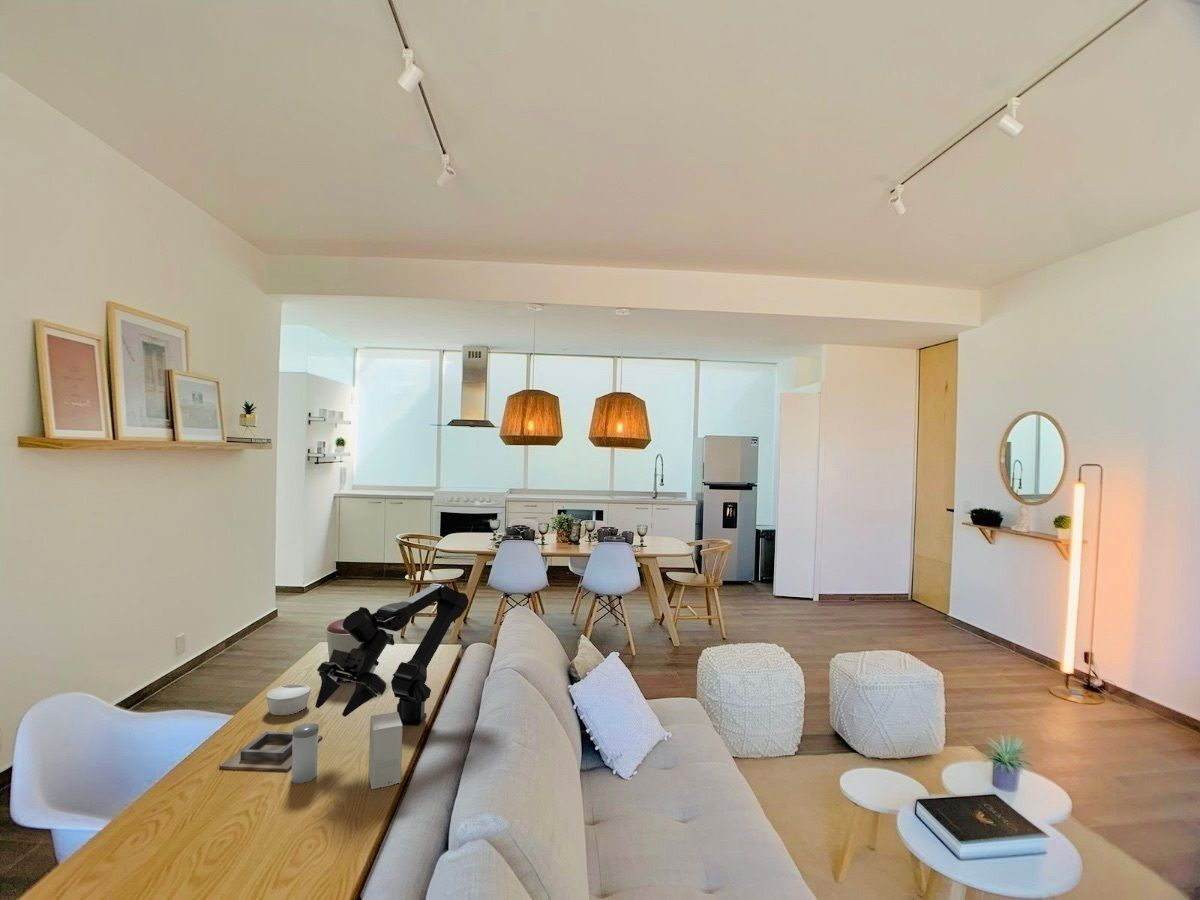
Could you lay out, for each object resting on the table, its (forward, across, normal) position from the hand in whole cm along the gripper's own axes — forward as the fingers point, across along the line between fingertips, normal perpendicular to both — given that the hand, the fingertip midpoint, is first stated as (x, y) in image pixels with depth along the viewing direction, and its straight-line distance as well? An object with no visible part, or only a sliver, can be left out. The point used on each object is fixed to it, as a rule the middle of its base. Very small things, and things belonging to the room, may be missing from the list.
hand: (329, 711), depth 138 cm
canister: (-20, -40, +38) cm, 59 cm away
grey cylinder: (+13, 0, +4) cm, 14 cm away
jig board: (+11, -16, +7) cm, 20 cm away
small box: (+7, +16, +10) cm, 20 cm away
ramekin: (-2, -35, +19) cm, 40 cm away
